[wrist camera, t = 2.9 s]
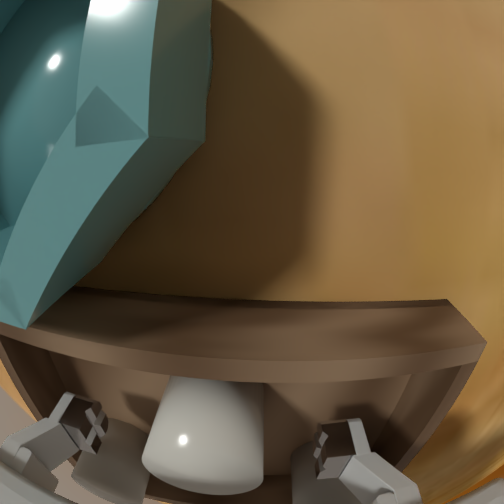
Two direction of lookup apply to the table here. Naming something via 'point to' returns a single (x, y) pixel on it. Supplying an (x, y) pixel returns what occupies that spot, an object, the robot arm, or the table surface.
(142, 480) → the pebble
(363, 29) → the table surface
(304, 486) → the pebble
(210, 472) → the pebble
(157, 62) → the bowl
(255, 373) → the tray
